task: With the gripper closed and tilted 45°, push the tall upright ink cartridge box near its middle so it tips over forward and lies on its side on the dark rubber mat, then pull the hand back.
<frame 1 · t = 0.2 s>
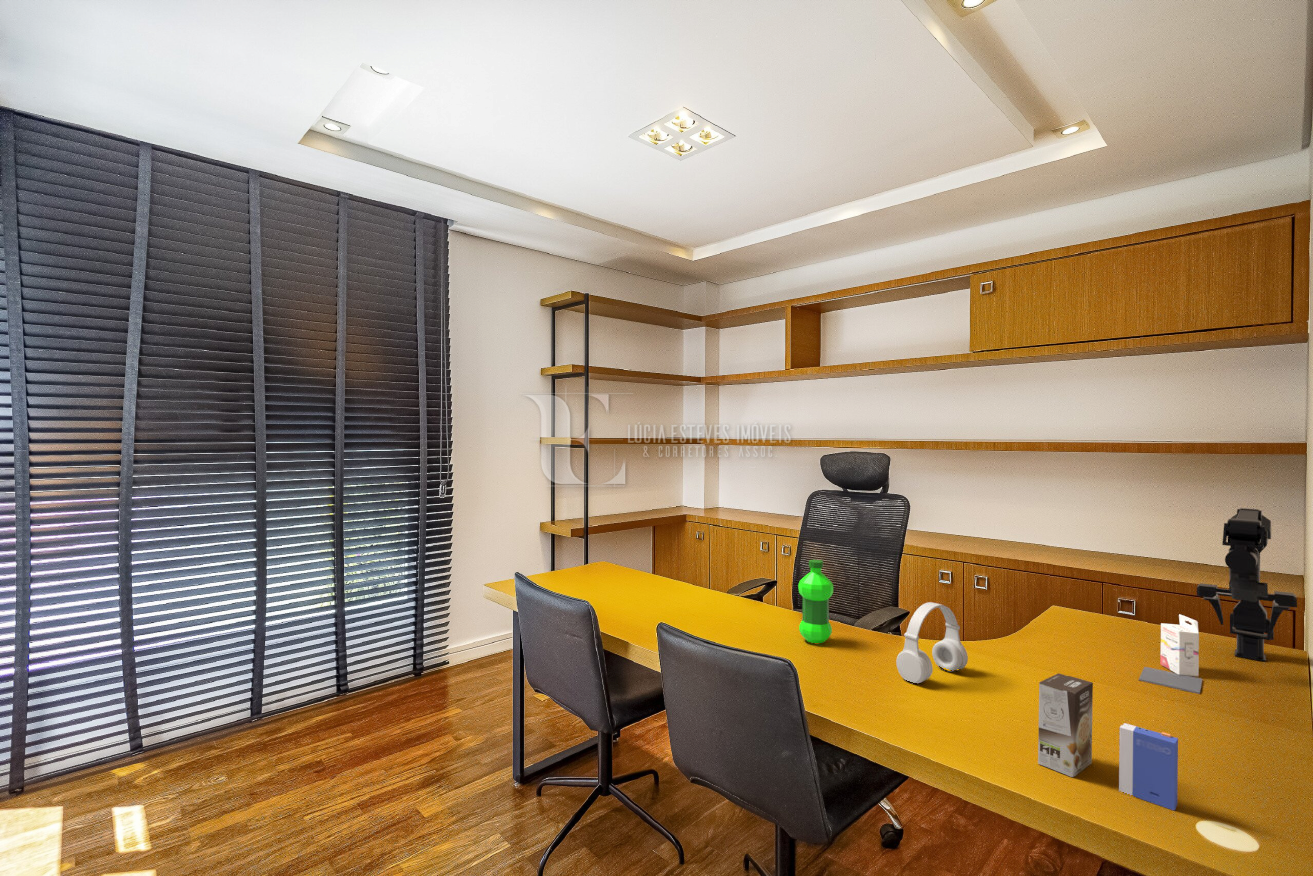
hand: (1246, 628, 160), 14 cm above the table, tool pointing down, fingers open, 9 cm apart
coffee box: (1065, 765, 120), on the table
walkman: (1147, 799, 108), on the table
headphones: (932, 676, 163), on the table
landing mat: (1170, 680, 161), on the table
ink cartridge box: (1178, 671, 167), on the table, touching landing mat
plastic bottle: (815, 642, 190), on the table
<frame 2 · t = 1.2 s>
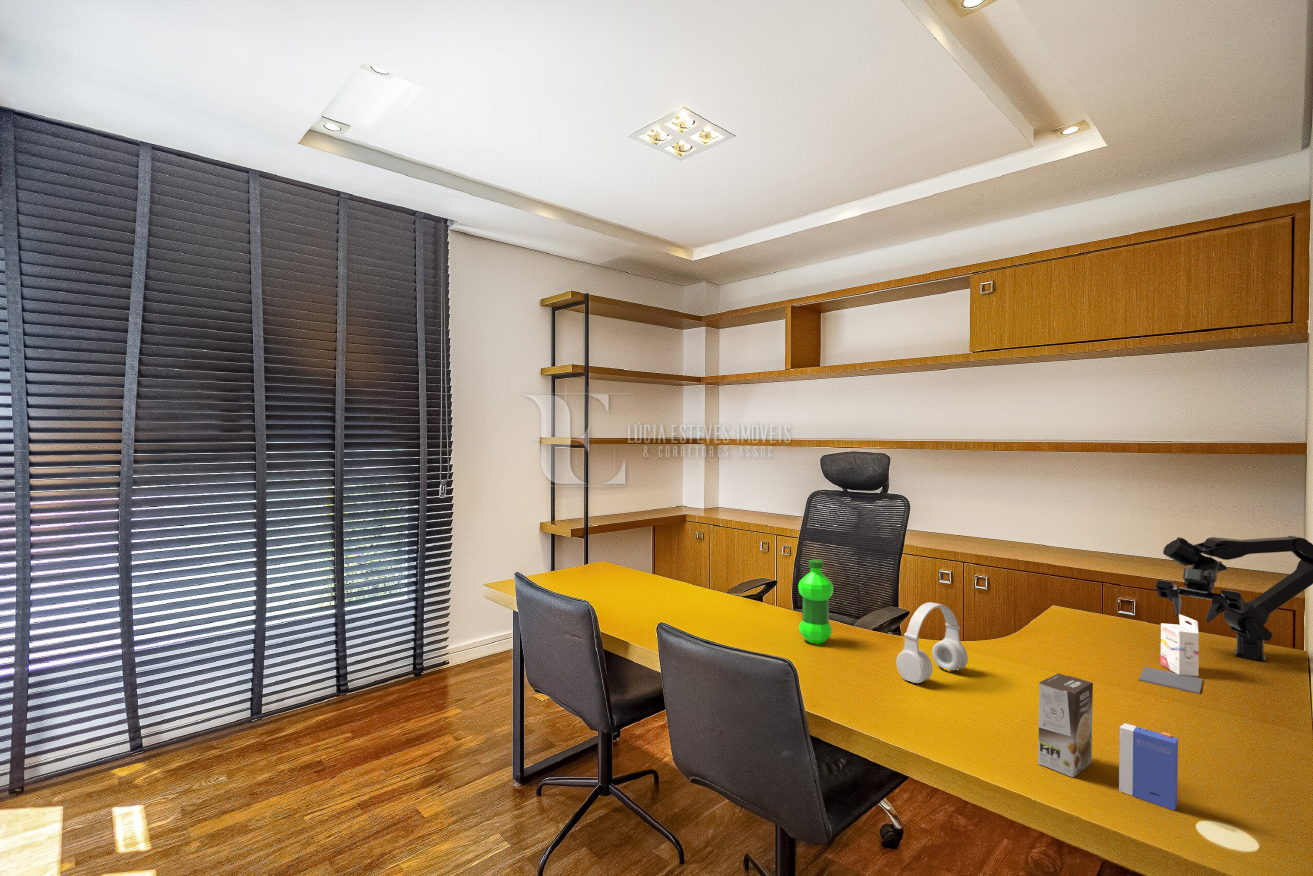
hand: (1192, 618, 174), 13 cm above the table, tool tilted 45°, fingers open, 6 cm apart
nothing on the table moved.
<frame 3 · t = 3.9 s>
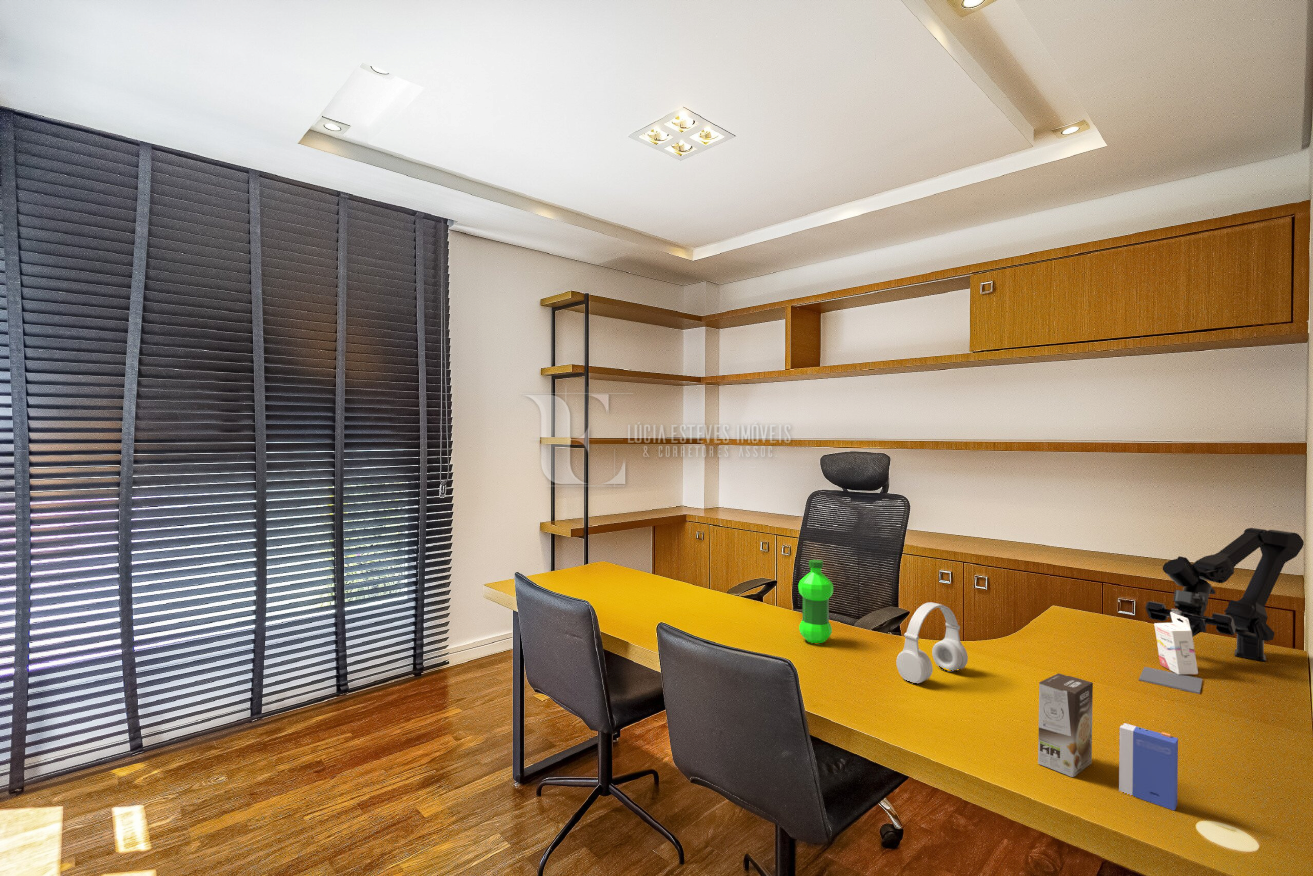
hand: (1181, 642, 169), 7 cm above the table, tool tilted 45°, fingers closed
ink cartridge box: (1178, 670, 167), on the table, touching gripper, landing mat
everything else where it was.
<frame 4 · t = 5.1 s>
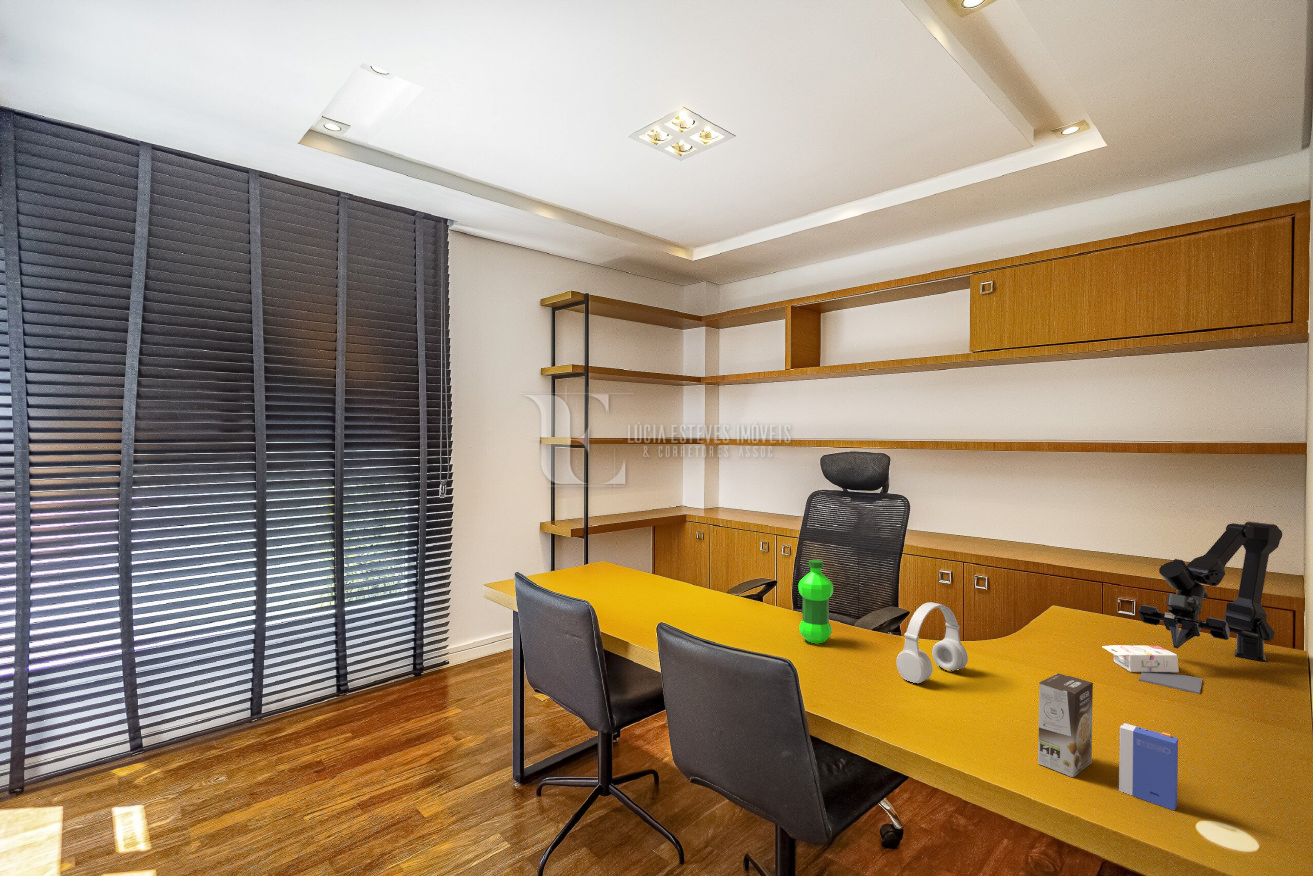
hand: (1175, 647, 165), 7 cm above the table, tool tilted 45°, fingers closed
ink cartridge box: (1169, 659, 168), point 3 cm above the table, touching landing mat
everything else where it was.
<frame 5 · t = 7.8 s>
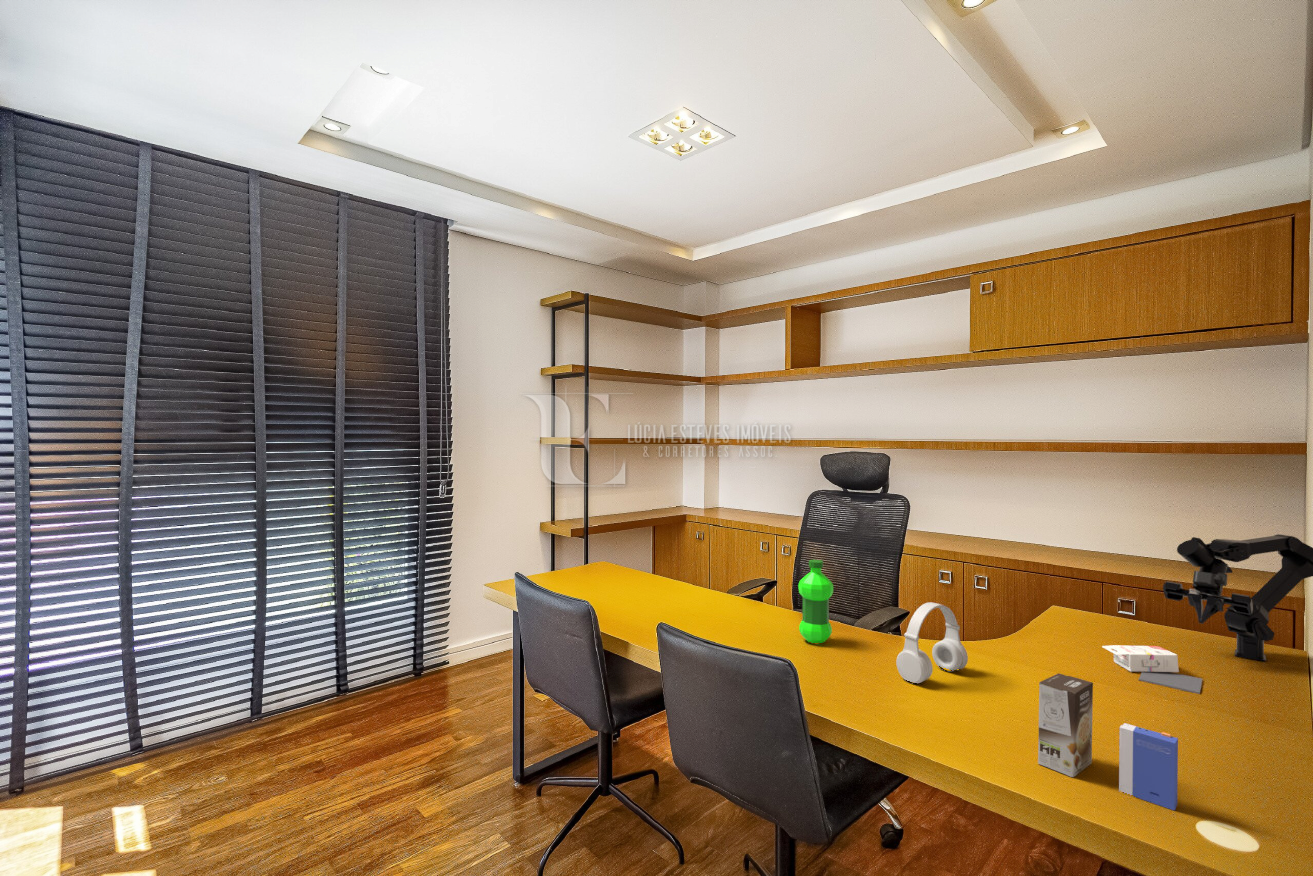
hand: (1200, 622, 171), 12 cm above the table, tool tilted 45°, fingers closed
nothing on the table moved.
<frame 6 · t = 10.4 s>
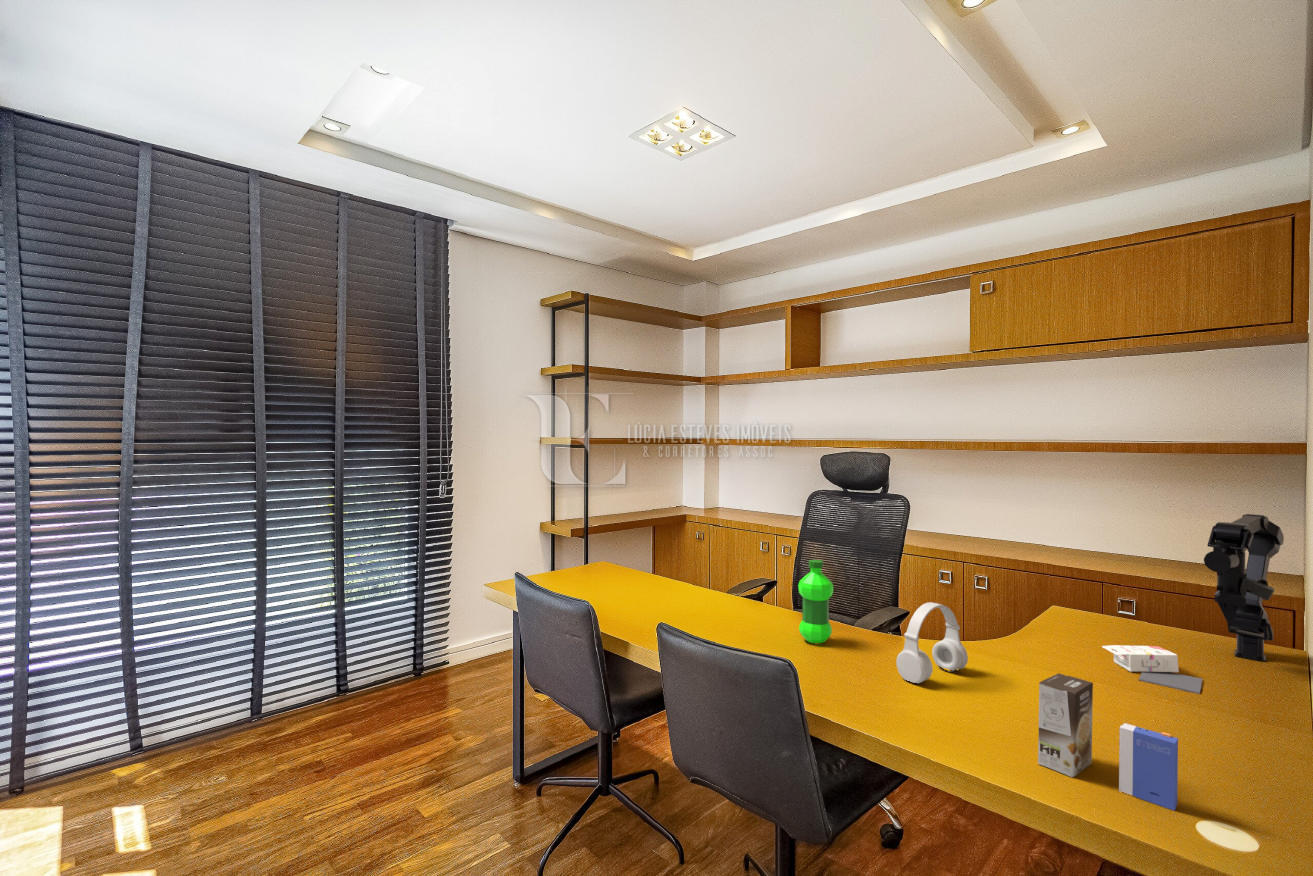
hand: (1230, 624, 171), 12 cm above the table, tool pointing down, fingers closed
nothing on the table moved.
at the end: ink cartridge box tilted 93°; ink cartridge box inside the target area (4.3 cm from its centre), point 3.1 cm above the table; the gripper is holding nothing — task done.
